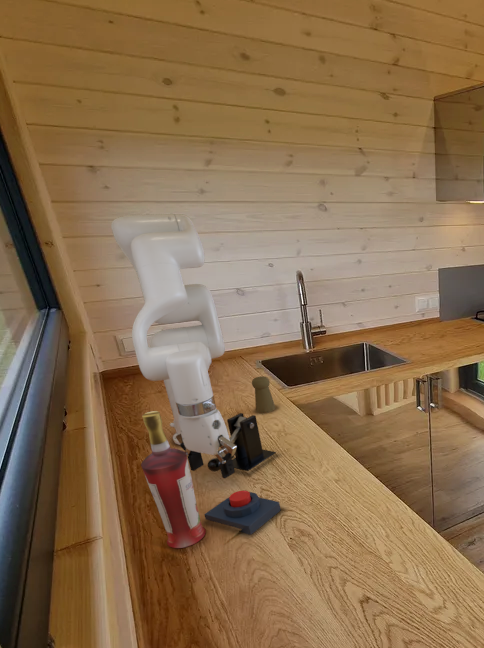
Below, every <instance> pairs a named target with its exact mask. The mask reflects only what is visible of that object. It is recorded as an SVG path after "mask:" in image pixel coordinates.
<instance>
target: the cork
mask: <svg viewBox="0 0 484 648" xmlns="http://www.w3.org/2000/svg"><path fill="white" fill-rule="evenodd" d="M270 382H271V381H270V379H269V378H268V377H267V376H264V375H262V376H257V377H254V378H253V379H252V381H251V386H252V387H253V389H254V400H255V412H256V413H257V414H268V413H272V412H273V411H275V410H276V405H275V401H274V399H273V395H272V393H271V390H270V387H269V386H270V384H271V383H270Z"/></svg>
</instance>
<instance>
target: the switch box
mask: <svg viewBox="0 0 484 648" xmlns="http://www.w3.org/2000/svg"><path fill="white" fill-rule="evenodd" d="M248 492H249V493H250V497H251V502H250V503H249V504H247V505H245V506H242V507H232V506H231V504H230V500H229V497H227V498H226V499H224V500H223V501H221V502H220V503H218V504H217V505H216V506H214V507H213V508H211V509H210V510H208V511H206V512H205V513H204V519H205V520H207V521H211V522H215V523H217V524H221V525H226V526H229V527H233V528H236V529H240V530H239V533H242V534H246V535H251V536H252V535H253V534H254V533H255V532H257V530H259V529H260V528H262V527H263V526H264V525H265V524H266V523H267V522H269V521H270V520H272V518H274V517H275V516H276V515H277V514H278V513H280V512H281V510H282V509H281V505H280V502H279V501H276V500H272V499H268V498H264V497H260V496H259V495H258V494H257V493H256V492H253V491H248Z"/></svg>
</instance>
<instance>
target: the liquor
mask: <svg viewBox="0 0 484 648" xmlns="http://www.w3.org/2000/svg"><path fill="white" fill-rule="evenodd" d="M141 417H142V421H143V423H144V426H145V427H146V430H147V432H148V435H149V436H148V438H149V443H150V448H151V453H150V454H148V455H147V456H146V457H145V458H143V460H142V462H141V463H140V467H141V470H142V472H143V474H144V478H145V480H146V482H147V485H148V487H149V490H150V492H151V495H152V497H153V500H154V503H155V505H156V508H157V510H158V513H159V516H160V518H161V521H162V525H163V527H164V529H165V533H166V535H167V540H166V544H167V546H168V547H170V548H173V549H184V548H185V549H186V548H189V547H191V546H194V545H195V544H197V543H198V542H200V541H201V540H202V539H203V538H204V537H205V536H206V533H207V530H206V528H205V527H204V526H203V525H202V520H201V517H200V513H199V507H198V504H197V499H196V493H195V488H194V484H193V477H192V474H191V468H190V465H189V461H188V457H187V455H186V452H185V451H184V450H183V449H179V448H173V447H171V445H170V443H169V441H168V438H167V436H166V433H165V432H164V429H163V419H162V415H161V412H160V411H157V410H153V411H148V412H145V413H143V414H142V416H141Z"/></svg>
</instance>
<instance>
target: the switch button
mask: <svg viewBox="0 0 484 648" xmlns="http://www.w3.org/2000/svg"><path fill="white" fill-rule="evenodd" d="M249 492H250V491H248V490H237V491H235V492H232V493H231V494H230V495H229V497H228V498H229V500H230V504H231V506H232V507H242V506H245V505H247V504H249V503H250V502H251V497H250V493H249Z"/></svg>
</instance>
